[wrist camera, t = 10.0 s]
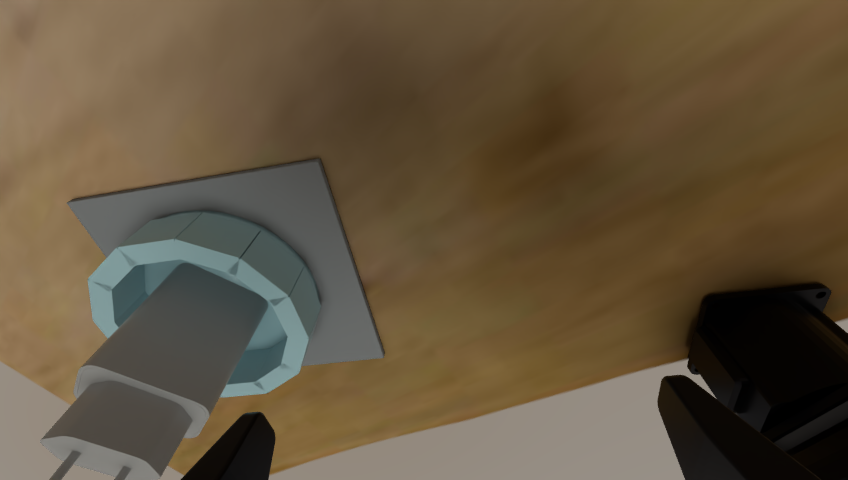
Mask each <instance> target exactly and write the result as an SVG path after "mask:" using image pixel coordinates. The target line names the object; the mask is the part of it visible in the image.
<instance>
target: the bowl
mask: <svg viewBox="0 0 848 480" xmlns="http://www.w3.org/2000/svg"><path fill="white" fill-rule="evenodd" d="M182 263H190V264H193V265H195V266H198V267H200V268H202V269H204V270H206V271H209V272H211V273H213V274H215V275H217V276H220V277H222V278H224V279H226V280H228V281H231V282H233V283H235V284H237V285H239V286H242V287H244V288H246V289H248V290H250V291H253V292H255V293H257V294H259V295H260V296H262V297H263V298H264V299H266V300H267V302H268V309H267V311H266V313H265V314H264V316H263V318H262V320H261V322H260V324H259V325H258V327H257V329H256V331H255V333H254V335H253V337H252V338H251V340H250V342H249V344H248V346H247V348H246V349H245V351H244V353H243V355H242V357H241V359H240V361H239V362H238V364H237V366H236V368H235V370H234V372H233V373H232V375H231V377H230V379H229V381H228V383H227V385H226V386H225V388H224V390H223V392H222V394H221V396H220V397H233V396H244V395H255V394H265V393H268V392H270V391H272V390H273V389H275V388H276V387H278V386H279V385H281V384H283V383H284V382H286V381H287V380H289V379H290V378H292V377H294V376H295V375H297V374H298V373H299V372H300V369H301V366H302V364H303V361H304V358H305V356H306V353H307V350H308V347H309V345H310V342H311V339H312V336H313V332H314V329H315V326H316V322H317V319H318V315H319V312H320V308H321V304H320V298H319V292H318V288H317V285H316V282H315V279H314V277H313V275H312V273H311V271H310V269H309V268H308V266H307V265H306V263H305V262H304V261H303V259H302V258H301V257H300V256H299V255H298V254H297V252H296V251H295V250H294V249H293V248H291V247H290V246H289V245H288V244H287V243H286V242H285V241H283V240H282V239H281V238H279V237H278V236H277V235H275V234H274V233H272V232H270V231H269V230H267V229H266V228H264V227H262V226H260V225H258V224H256V223H254V222H251V221H249V220H246V219H243V218H241V217H238V216H234V215H230V214H226V213H222V212H215V211H201V210H195V211H184V212H179V213H175V214H171V215H168V216H166V217H163V218H161V219H155V220H151V221H149V222H148V223H147V224H145V225H144V226H143V227H142V228H140V229H139V230H138V231H137V232H135V233H134V234H133V235H132V236H130V237H129V238H128V239H127V240H125V241H124V242H123V243H122V244H120V245H119V246H118V247H116V248H115V250H114V251H113V252H112V253H111V254H110V255H109V256H108V257H107V258H106V259H105V261H104V262H103V263H102V264H101V265H100V266H99V267H98V268H97V269H96V270H95V272H94V273H93V274H92V275H91V276H90V277H89V278H88V286H89V294H90V302H91V310H92V318H93V320H94V322H95V324H96V325H97V326H98V327H99V328H100V330H101V331H102V332H103V333H104V334H105V336H106V337H107V338H109V337H110V336H111V335H112V334H113V333H114V332H115V331H116V330H117V329H118V328H119V327H120V326H121V325H122V324H123V323H124V322H125V321H126V319H127V318H128V317H129V316H130V315H131V314H132V313H133V312H134V311H135V310H136V309H137V308H138V307H139V306H140V305H141V304H142V303H143V302H144V301H145V300H146V299H147V297H148V296H149V295H150V294H151V293H152V292H153V291H154V290H155V289H156V288H157V287H158V286H159V285H160V284H161V283H162V282H163V281H164V280H165V279H166V278H167V276H168V275H169V274H170V273H171V272H172V271H173V270H174V269H175V268H176V267H177V266H178V265H179V264H182Z"/></svg>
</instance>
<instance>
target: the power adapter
mask: <svg viewBox="0 0 848 480" xmlns="http://www.w3.org/2000/svg"><path fill="white" fill-rule="evenodd" d="M267 309H268V302H267V300H266V299H264V298H263V297H262V296H260V295H259V294H257V293H255V292H253V291H250V290H248V289H246V288H244V287H242V286H239V285H237V284H235V283H233V282H231V281H228V280H226V279H224V278H222V277H220V276H217V275H215V274H213V273H211V272H209V271H206V270H204V269H202V268H200V267H198V266H195V265H193V264H190V263H182V264H179V265H178V266H177V267H176V268H175V269H174V270H173V271H172V272H171V273H170V274H169V275H168V276H167V278H166V279H165V280H164V281H163V282H162V283H161V284H160V285H159V286H158V287H157V288H156V289H155V290H154V291H153V292H152V293H151V294H150V295H149V296H148V297H147V299H146V300H145V301H144V302H143V303H142V304H141V305H140V306H139V307H138V308H137V309H136V310H135V311H134V312H133V313H132V314H131V315H130V316H129V317H128V318H127V319H126V321H125V322H124V323H123V324H122V325H121V326H120V327H119V328H118V329H117V330H116V331H115V332H114V333H113V334H112V335H111V336H110V337H109V338H108V339H107V340H106V342H105V343H104V344H103V345H102V346H101V347H100V348H99V349H98V350H97V351H96V352H95V353H94V354H93V355H92V356H91V357H90V358H89V359H88V360H87V361H86V363H85V364H84V365H83V366H82V367H81V368H80V369H79V371H78V375H77V379H76V383H75V387H74V395H75V397H76V398H77V400H76V401H75V402H74V403H73V404H72V405H71V406H70V408H69V409H68V410H67V411H66V412H65V413H64V414H63V416H62V417H61V418H60V419H59V420H58V421H57V422H56V423H55V425H54V426H53V427H52V428H51V429H50V430H49V431H48V432H47V433H46V435H45V436H44V437H43V438H42V439H41V440H40V443H41V444H42V445H43V446H44V447H46V448H47V449H48V450H49V451H50V452H51V453H53V454H54V455H55V456H56V457H57V458H59V459H61V460H63V461H64V462H63V463H62V464H61V466H60V467H59V468H58V469H57V471H56V472H55V473H54V474H53V476H52V477H51V478H50V480H61V479H62V478H63V477H64V476H65V474H66V473H67V472H68V470H69V469H70V468H71V466H72V465H73V464H74V465H77V466H80V467H84V468H87V469H91V470H94V471H97V472H100V473H104V474H107V475H111V476H114V477H116V478H115V479H114V480H157V479H160V477H161V475H162V474H163V472H164V470H165V468H166V467H167V465H168V463H169V462H170V460H171V458H172V456H173V455H174V453H175V451H176V449H177V448H178V446H179V444H180V442H181V441H182V439H183V438H193V437H196V436H198V435H199V433H200V432H201V430H202V428H203V427H204V425H205V423H206V421H207V420H208V418H209V416H210V414H211V412H212V410H213V409H214V407H215V405H216V403H217V401H218V399H219V397H220V396H221V394H222V392H223V390H224V388H225V386H226V385H227V383H228V381H229V379H230V377H231V375H232V373H233V372H234V370H235V368H236V366H237V364H238V362H239V361H240V359H241V357H242V355H243V353H244V351H245V349H246V348H247V346H248V344H249V342H250V340H251V338H252V337H253V335H254V333H255V331H256V329H257V327H258V325H259V324H260V322H261V320H262V318H263V316H264V314H265V313H266V311H267Z"/></svg>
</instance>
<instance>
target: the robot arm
mask: <svg viewBox="0 0 848 480" xmlns="http://www.w3.org/2000/svg"><path fill="white" fill-rule="evenodd" d="M830 294H831V290H830V289H829V288H827V287H826V286H825V285H823V284H811V285H802V286H793V287H783V288H774V289H765V290H756V291H746V292H737V293H728V294H719V295H712V296H709V297H707V298H706V299H705V300H704V301H703V304H702V308H701V312H700V316H699V320H698V324H697V328H696V330H695V332H694V336H693V341H692V345H691V349H690V353H689V361H688V365H687V367H688V369H689V370H690V372H691V373H692V374H696V375H698V374H700V375H701V376H702V378H703V379H704V381H705V382H706V384H707V385H708V386H709V388H710V389H711V391H712V392H713V394H714V395H715V397H716V398H717V399H716V398H714V397H713V396H712V395H710V394H709V393H708V392H707V391H705V390H704V389H702V388H701V387H700V386H699V385H697V384H696V383H695V382H693V381H692V380H691V379H690V378H688V377H686V376H684V375H674V376H665V377H664V378H663V379H662V381H661V386H660V391H659V396H658V408H659V412H660V415H661V417H662V420H663V422H664V425H665V428H666V430H667V433H668V436H669V438H670V441H671V444H672V446H673V449H674V451H675V454H676V457H677V459H678V462H679V464H680V467H681V470H682V473H683V475H684V478H685V480H848V333H846V332H845V331H844V330H843V329H842V328H841V327H839V326H838V325H837V324H836V323H835V322H833V321H832V320H831V319H830V318H829V317H827V316H826V315H825V314H824V313H823V310H824V308H825V305H826V303H827V301H828V299H829V297H830ZM736 414H737V415H736ZM274 445H275V432H274V430H273V428H272V427H271V425H270V424H269V422H268V420H267V419H266V417H265V416H264V414H263V413H261V412H252V413H245V414H243V415H242V416H241V417H240V418H239V419H238V420H237V421H236V422H235V423H234V424H233V425H232V426H231V427H230V428H229V429H228V430H227V431H226V432H225V433H224V434H223V435H222V437H221V438H220V439H219V440H218V441H217V442H216V443H215V444H214V445H213V446H212V447H211V448H210V449H209V450H208V451H207V452H206V453H205V454H204V456H203V457H202V458H201V459H200V460H199V461H198V462H197V463H196V464H195V465H194V466H193V467H192V468H191V469H190V470H189V471H188V472H187V473H186V475H185V476H184V477H183V478H182V479H181V480H268V478H269V473H270V467H271V462H272V456H273V451H274Z"/></svg>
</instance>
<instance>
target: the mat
mask: <svg viewBox="0 0 848 480" xmlns="http://www.w3.org/2000/svg"><path fill="white" fill-rule="evenodd" d="M67 204H68V205H69V207H70V208H71V210H72V211H73V212H74V214H75V215H76V216H77V218H78V219H79V221H80V222H81V223H82V225H83V226H84V227H85V229H86V230H87V232H88V233H89V234H90V236H91V237H92V238H93V240H94V241H95V243H96V244H97V245H98V247H99V248H100V249H101V251H102V252H103V254H104V255H105V256H106V258H107V257H108V256H109V255H110V254H111V253H112V252H113V251H114V250H115V248H116V247H118V246H119V245H120V244H122V243H123V242H124V241H125V240H127V239H128V238H129V237H130V236H132V235H133V234H134V233H135V232H137V231H138V230H139V229H140V228H142V227H143V226H144V225H145V224H147V223H148V222H149V221H151V220H155V219H161V218H163V217H166V216H168V215H171V214H175V213H179V212H184V211H195V210H201V211H215V212H222V213H226V214H230V215H234V216H238V217H241V218H243V219H246V220H249V221H251V222H254V223H256V224H258V225H260V226H262V227H264V228H266V229H267V230H269V231H270V232H272V233H274V234H275V235H277V236H278V237H279V238H281V239H282V240H283V241H285V242H286V243H287V244H288V245H289V246H290V247H291V248H293V249H294V250H295V251H296V252H297V254H298V255H299V256H300V257H301V258H302V259H303V261H304V262H305V263H306V265H307V266H308V268H309V269H310V271H311V273H312V275H313V277H314V279H315V282H316V285H317V288H318V292H319V298H320V304H321V308H320V312H319V315H318V319H317V322H316V326H315V329H314V332H313V336H312V339H311V342H310V345H309V347H308V350H307V353H306V356H305V358H304V361H303V364H302V366H306V365H316V364H326V363H337V362H347V361H357V360H367V359H377V358H384V354H385V353H384V350H383V347H382V344H381V341H380V338H379V335H378V332H377V329H376V326H375V323H374V320H373V317H372V314H371V311H370V307H369V304H368V301H367V298H366V295H365V292H364V289H363V286H362V283H361V280H360V277H359V274H358V271H357V268H356V265H355V262H354V259H353V256H352V253H351V250H350V247H349V244H348V241H347V238H346V235H345V232H344V229H343V226H342V223H341V220H340V217H339V214H338V211H337V208H336V205H335V202H334V199H333V196H332V193H331V190H330V187H329V184H328V181H327V178H326V175H325V172H324V169H323V166H322V163H321V160H320V158H319V159H313V160H307V161H301V162H295V163H289V164H283V165H277V166H271V167H265V168H259V169H253V170H247V171H241V172H235V173H229V174H223V175H217V176H211V177H205V178H199V179H193V180H187V181H181V182H175V183H169V184H163V185H157V186H151V187H144V188H138V189H132V190H126V191H120V192H114V193H108V194H102V195H96V196H90V197H84V198H78V199H72V200H71V201H69V202H67Z"/></svg>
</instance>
